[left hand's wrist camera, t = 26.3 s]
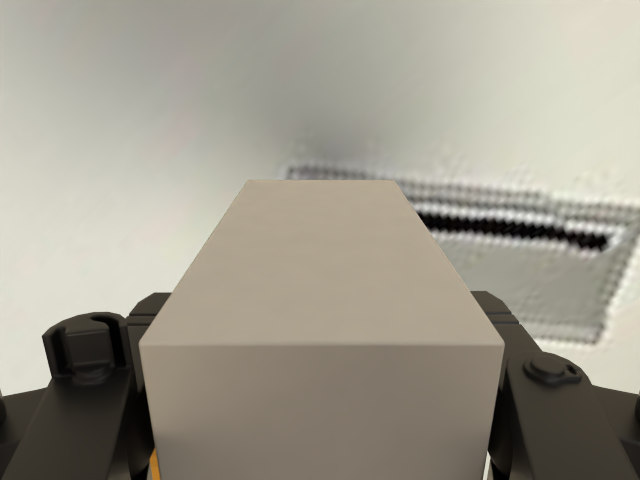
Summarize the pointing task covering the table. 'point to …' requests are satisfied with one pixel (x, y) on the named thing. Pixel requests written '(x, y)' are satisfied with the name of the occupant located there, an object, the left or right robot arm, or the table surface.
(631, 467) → the left robot arm
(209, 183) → the table surface
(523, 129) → the table surface
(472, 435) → the brick
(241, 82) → the table surface
